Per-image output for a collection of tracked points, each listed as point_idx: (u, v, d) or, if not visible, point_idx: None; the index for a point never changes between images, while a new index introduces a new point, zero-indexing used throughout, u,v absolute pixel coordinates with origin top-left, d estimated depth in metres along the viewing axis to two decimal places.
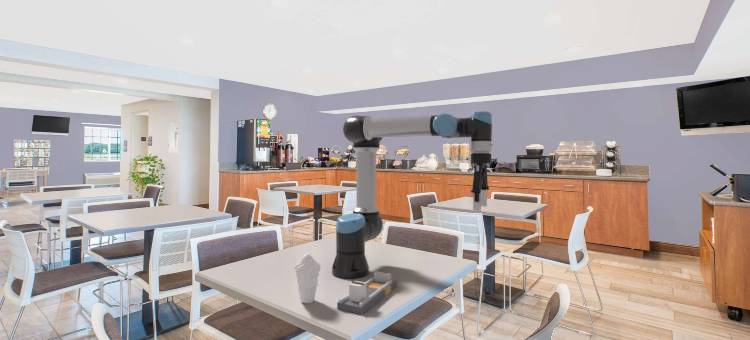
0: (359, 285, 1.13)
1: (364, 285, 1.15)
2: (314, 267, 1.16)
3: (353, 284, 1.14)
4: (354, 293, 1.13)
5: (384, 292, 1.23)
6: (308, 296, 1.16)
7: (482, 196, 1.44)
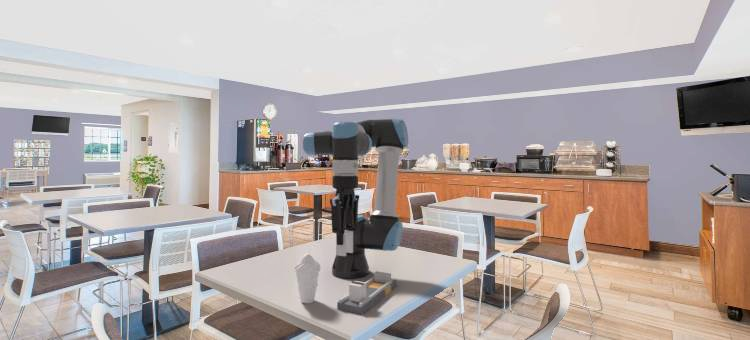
0: (359, 285, 1.13)
1: (364, 285, 1.15)
2: (314, 267, 1.16)
3: (353, 284, 1.14)
4: (354, 293, 1.13)
5: (384, 292, 1.23)
6: (308, 296, 1.16)
7: (347, 239, 1.09)
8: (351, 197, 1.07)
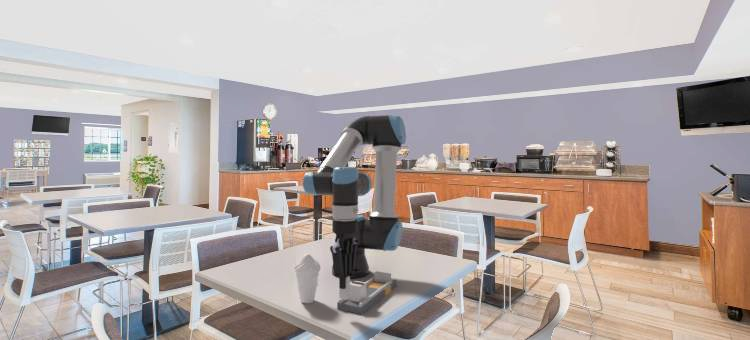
0: (359, 285, 1.13)
1: (364, 285, 1.15)
2: (314, 267, 1.16)
3: (353, 284, 1.14)
4: (354, 293, 1.13)
5: (384, 292, 1.23)
6: (308, 296, 1.16)
7: None
8: (351, 241, 1.07)
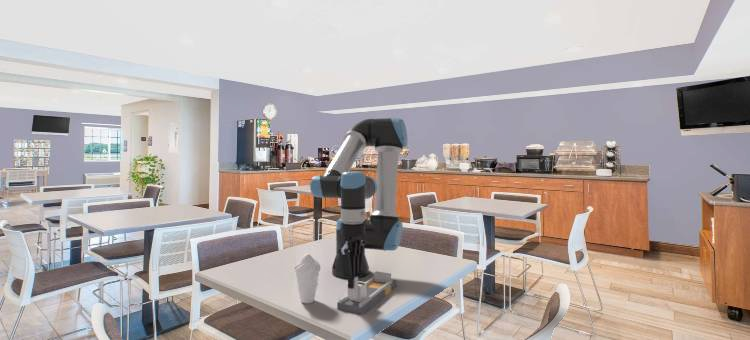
0: (359, 285, 1.14)
1: (364, 285, 1.15)
2: (314, 267, 1.16)
3: None
4: None
5: (384, 292, 1.23)
6: (308, 296, 1.16)
7: None
8: (358, 243, 1.12)
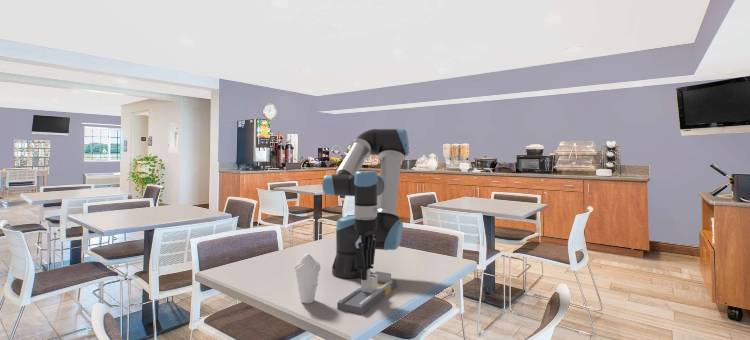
0: (371, 277, 1.21)
1: (375, 277, 1.22)
2: (314, 267, 1.16)
3: None
4: None
5: (384, 292, 1.23)
6: (308, 296, 1.16)
7: None
8: (371, 237, 1.19)
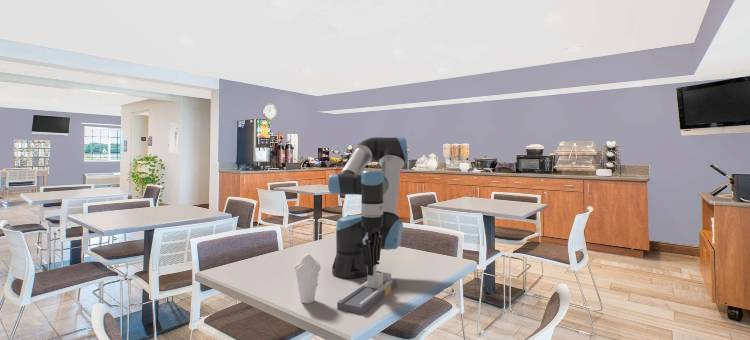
0: (377, 273, 1.25)
1: (381, 273, 1.27)
2: (314, 267, 1.16)
3: None
4: None
5: (384, 292, 1.23)
6: (308, 296, 1.16)
7: None
8: (377, 234, 1.24)
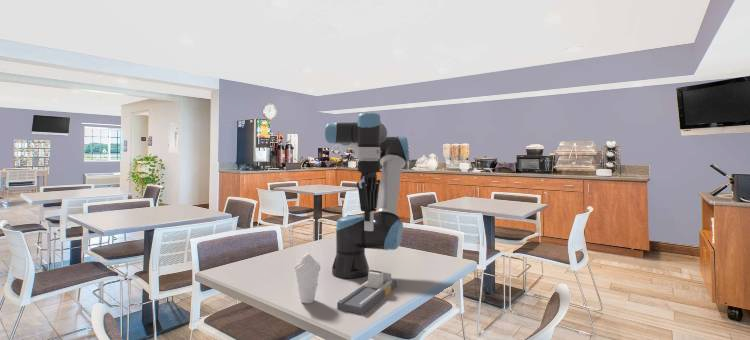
0: (377, 273, 1.25)
1: (381, 273, 1.27)
2: (314, 267, 1.16)
3: (371, 272, 1.26)
4: (372, 280, 1.25)
5: (384, 292, 1.23)
6: (308, 296, 1.16)
7: None
8: (374, 179, 1.21)
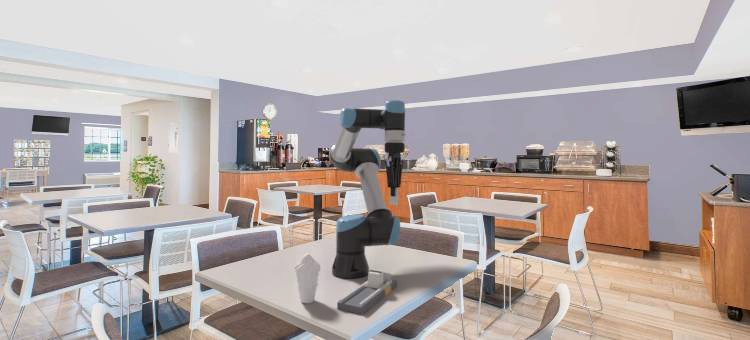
0: (377, 273, 1.25)
1: (381, 273, 1.27)
2: (314, 267, 1.16)
3: (371, 272, 1.26)
4: (372, 280, 1.25)
5: (384, 292, 1.23)
6: (308, 296, 1.16)
7: None
8: (399, 159, 1.36)
